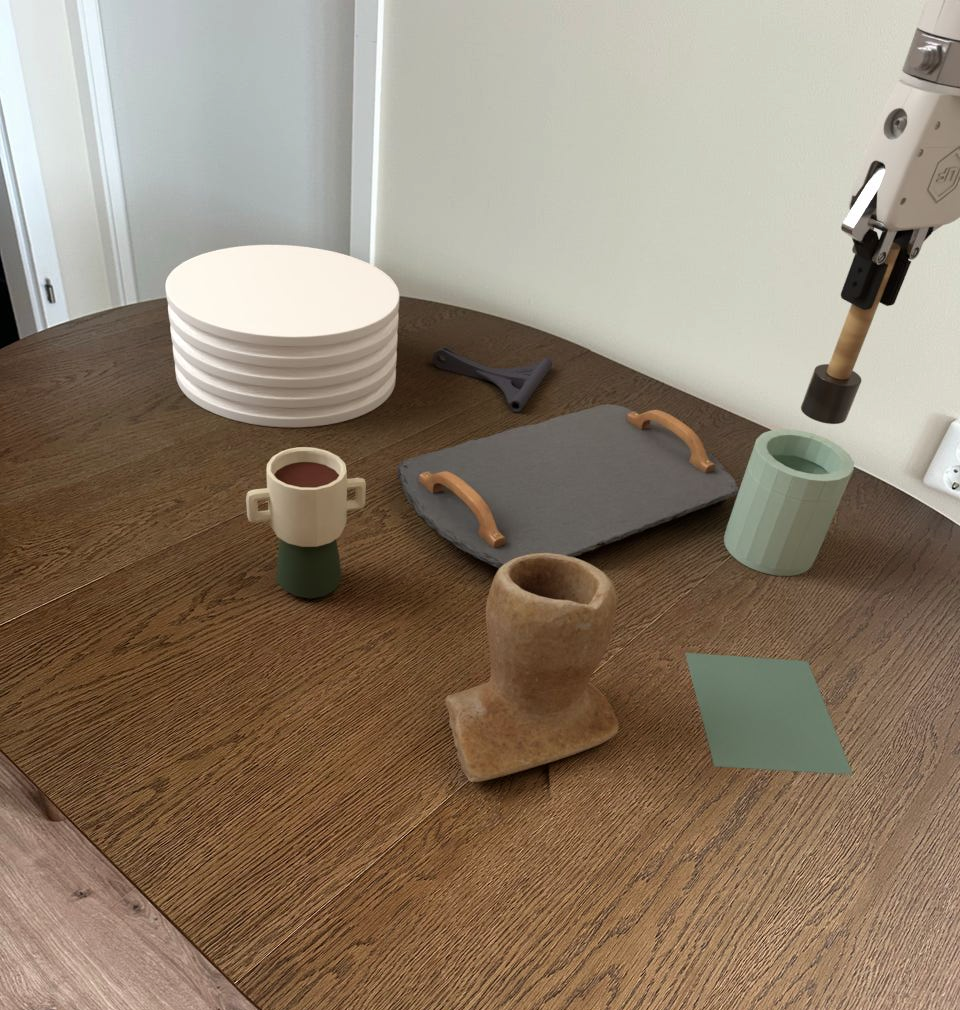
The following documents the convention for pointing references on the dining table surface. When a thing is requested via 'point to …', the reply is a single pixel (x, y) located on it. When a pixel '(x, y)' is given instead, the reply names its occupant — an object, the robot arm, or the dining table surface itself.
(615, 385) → the dining table surface
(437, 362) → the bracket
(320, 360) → the plate stack
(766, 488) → the jar
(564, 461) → the serving tray
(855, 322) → the wood and black rod
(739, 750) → the mat
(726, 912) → the dining table surface
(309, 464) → the character mug
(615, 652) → the dining table surface
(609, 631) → the stone cup
